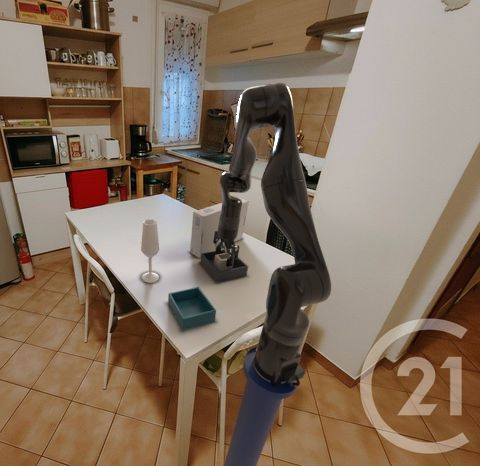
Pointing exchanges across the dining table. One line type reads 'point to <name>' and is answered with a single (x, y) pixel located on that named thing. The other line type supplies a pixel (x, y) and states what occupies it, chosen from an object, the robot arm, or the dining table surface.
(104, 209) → the dining table surface
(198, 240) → the packaging
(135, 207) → the dining table surface
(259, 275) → the dining table surface
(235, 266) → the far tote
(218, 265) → the white box with panel
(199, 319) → the near tote
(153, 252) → the champagne flute
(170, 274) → the dining table surface
